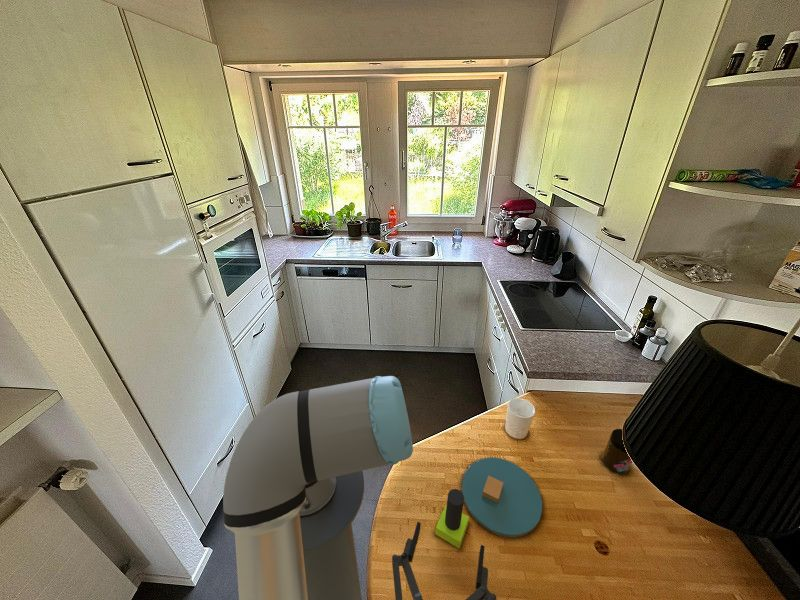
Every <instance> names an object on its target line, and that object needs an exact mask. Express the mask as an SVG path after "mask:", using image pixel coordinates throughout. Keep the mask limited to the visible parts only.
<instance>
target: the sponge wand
mask: <svg viewBox="0 0 800 600" xmlns="http://www.w3.org/2000/svg"><path fill="white" fill-rule="evenodd" d="M446 499H447V500H446V504H445V505H444V508H443V510H442V512H441V515H440V516H439V519H438V522H437V524H436V526H435V535H436V536H437V537H439V538H441V539H442V540H444V541H446V542H447V543H449V544H451V545H452V546H454V547H455V548H458V549H460V547H461V544H462V542H463V539H464V537H465V533H466V531H467V528H468V525H469V521H470V517H469V516H468V515H466V514H464V513H463V510H464V505H465V503H464V495H463V493H462V490H460V489H457V488H453V489H450V490H449V491H448V494H447V497H446Z"/></svg>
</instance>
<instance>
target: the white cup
mask: <svg viewBox="0 0 800 600" xmlns="http://www.w3.org/2000/svg"><path fill="white" fill-rule="evenodd" d="M535 414H536V408H535V406H534V404H532V403H531V402H530V401H529V400H526V399H525V398H522V397H514V398H511V399H509V401H508V402H507V408H506V414H505V425H504V429H505V432H506V434H508V435H509V436H510V437H511V438H514V439H517V440H521V439H524V438H526V437H527V436H528V433H529V430H530V428H531V425H532V423H533V419H534V417H535Z"/></svg>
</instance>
